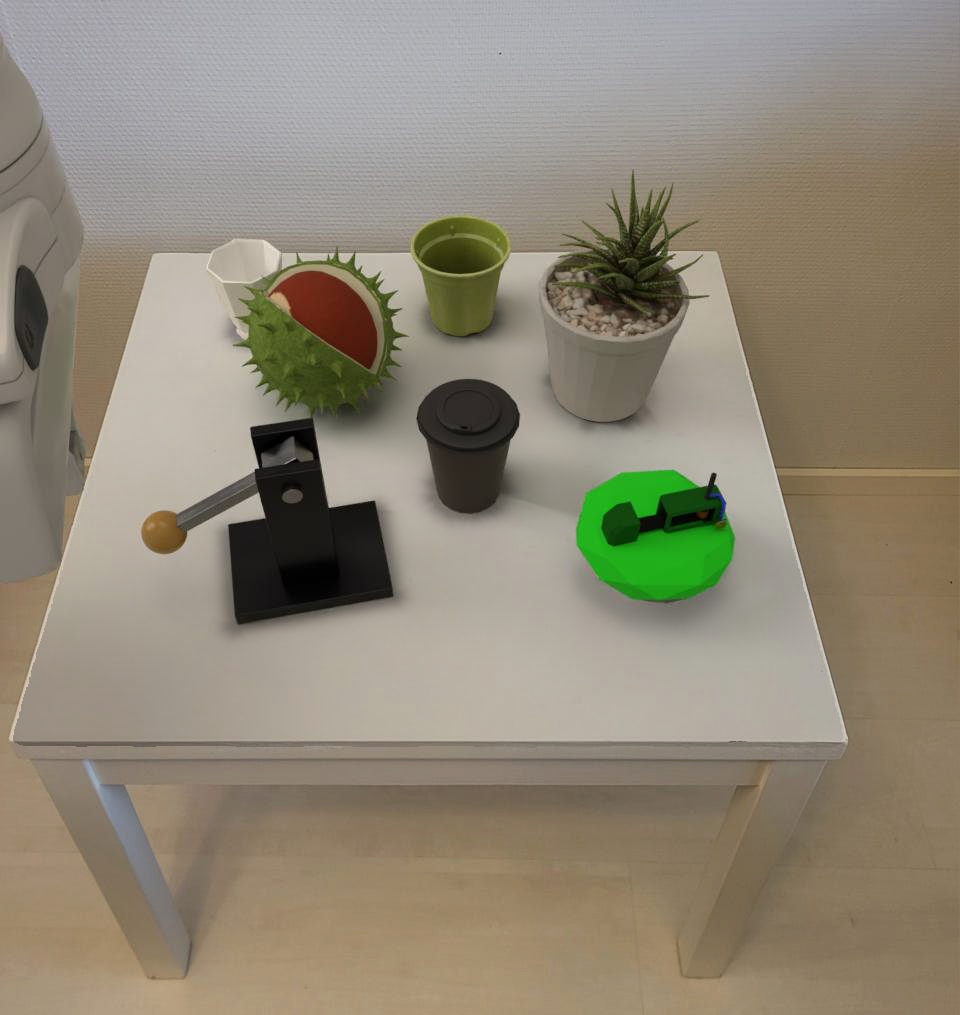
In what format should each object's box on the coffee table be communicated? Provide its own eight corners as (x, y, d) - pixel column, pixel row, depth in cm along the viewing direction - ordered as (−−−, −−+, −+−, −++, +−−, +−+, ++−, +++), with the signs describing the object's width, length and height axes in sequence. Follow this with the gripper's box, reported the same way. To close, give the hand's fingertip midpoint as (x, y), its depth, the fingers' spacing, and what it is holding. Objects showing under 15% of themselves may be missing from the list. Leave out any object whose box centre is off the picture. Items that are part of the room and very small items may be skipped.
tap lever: (162, 568, 71) (131, 549, 68) (162, 534, 73) (131, 514, 70) (320, 484, 67) (293, 460, 65) (315, 451, 69) (289, 426, 67)
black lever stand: (237, 624, 73) (198, 511, 62) (230, 532, 79) (193, 414, 68) (393, 597, 75) (381, 482, 64) (376, 509, 80) (362, 389, 70)
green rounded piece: (685, 498, 81) (711, 406, 73) (744, 612, 74) (780, 525, 66) (550, 526, 79) (560, 435, 71) (596, 646, 72) (614, 560, 64)
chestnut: (461, 295, 84) (375, 370, 73) (399, 403, 94) (316, 483, 83) (323, 191, 84) (217, 251, 73) (276, 310, 94) (176, 378, 83)
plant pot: (398, 334, 94) (393, 260, 87) (437, 278, 100) (435, 205, 93) (487, 359, 92) (488, 286, 85) (521, 301, 98) (525, 227, 91)
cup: (230, 359, 92) (212, 291, 85) (211, 295, 98) (193, 227, 91) (302, 342, 93) (290, 274, 87) (279, 281, 99) (266, 213, 93)
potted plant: (686, 443, 85) (735, 255, 70) (531, 437, 86) (546, 249, 70) (673, 347, 93) (715, 160, 78) (531, 343, 94) (544, 155, 78)
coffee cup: (440, 538, 79) (436, 456, 71) (407, 468, 83) (401, 384, 75) (531, 510, 80) (537, 427, 73) (494, 443, 85) (497, 359, 77)
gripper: (-110, 76, 39) (14, 334, 50) (-226, 433, 27) (-28, 675, 38) (51, 61, 40) (138, 319, 51) (10, 400, 28) (137, 646, 39)
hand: (67, 473), depth 44 cm, fingers closed
